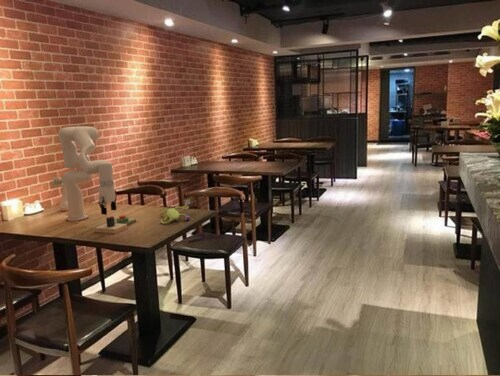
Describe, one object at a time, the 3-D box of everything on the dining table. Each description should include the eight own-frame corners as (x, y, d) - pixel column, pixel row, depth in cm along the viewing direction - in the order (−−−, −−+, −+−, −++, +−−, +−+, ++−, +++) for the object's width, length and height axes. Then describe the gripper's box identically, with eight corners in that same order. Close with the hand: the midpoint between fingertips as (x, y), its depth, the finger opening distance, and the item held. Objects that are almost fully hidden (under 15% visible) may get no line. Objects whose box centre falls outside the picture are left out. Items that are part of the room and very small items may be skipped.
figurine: (188, 212, 282) (188, 204, 281) (191, 222, 256) (191, 213, 255) (160, 214, 279) (160, 206, 278) (160, 225, 253) (159, 216, 252)
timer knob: (112, 227, 243) (111, 218, 242) (105, 226, 244) (104, 217, 243) (116, 225, 247) (115, 216, 246) (109, 224, 248) (108, 215, 247)
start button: (118, 219, 258) (118, 216, 258) (121, 217, 261) (121, 214, 261) (123, 219, 257) (123, 216, 257) (126, 217, 260) (126, 215, 260)
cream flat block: (95, 232, 243) (94, 227, 243) (107, 226, 254) (107, 222, 253) (115, 233, 239) (115, 229, 238) (127, 228, 249) (126, 223, 248)
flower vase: (62, 207, 310) (58, 173, 306) (82, 208, 304) (78, 174, 299) (48, 211, 298) (43, 176, 294) (69, 213, 292) (64, 177, 287)
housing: (109, 225, 257) (109, 219, 256) (119, 220, 266) (119, 215, 266) (126, 226, 253) (125, 220, 253) (136, 221, 262) (135, 216, 262)
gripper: (109, 180, 250) (111, 208, 254) (91, 186, 234) (94, 215, 237) (120, 180, 248) (122, 208, 252) (103, 186, 232) (106, 216, 235)
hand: (109, 212), depth 245 cm, fingers open, 9 cm apart
